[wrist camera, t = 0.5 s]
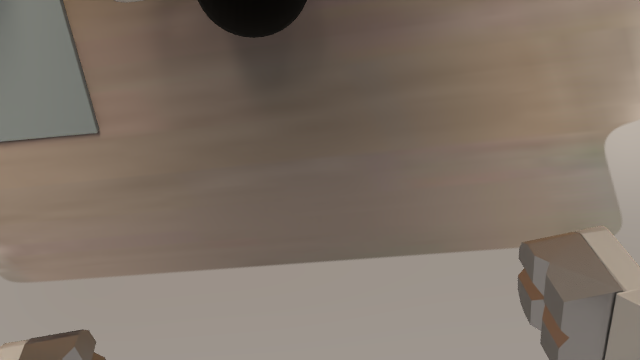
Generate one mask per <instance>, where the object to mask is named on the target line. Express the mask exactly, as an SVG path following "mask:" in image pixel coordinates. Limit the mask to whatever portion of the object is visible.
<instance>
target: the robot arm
mask: <svg viewBox="0 0 640 360" xmlns="http://www.w3.org/2000/svg"><path fill="white" fill-rule="evenodd" d="M519 260H520V261H521V263H522V265H523V267H524V269H523V270H522V272H521V273H520V274H519V275H518V292H519V297H520V302H521V305H522V308H523V311H524V313H525V315H526V317H527V319H528V321H529V323H530V325H532V326H534V327H536V328H537V329H539V330H541V345H542V347H543V349H544V351H545V353H546V355H547V356H548V358H549V360H640V266H639V265H638V264H637V263H636V262H635V260H633V258H632V257H631V256H630V254H628V252H627V251H626V250H625V249H624V247H623V246H622V245H621V244H620V243H619V241H617V239H616V238H615V237H614V235H613V234H612V233H611V232H610V231H609V229H608V228H606V227H604V226H597V227H593V228H588V229H583V230H578V231H575V232H569V233H565V234H560V235H555V236H550V237H545V238H540V239H536V240H531V241H526V242H522V243H521V245H520V248H519ZM95 344H96V341H95V339H94V338H93V336H92V335H91V333H90V332H89V331H88V330H77V331H72V332H66V333H60V334H54V335H48V336H43V337H37V338H31V339H29V340H23V341H17V342H11V343H5V344H3V345H2V346H1V347H0V360H106V359H105V357H103V356H100V355H98V354H96V353H95V352H94V349H95Z"/></svg>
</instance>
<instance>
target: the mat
mask: <svg viewBox="0 0 640 360" xmlns="http://www.w3.org/2000/svg"><path fill="white" fill-rule="evenodd" d="M98 130H99V127H98V123H97V120H96V116H95V113H94V109H93V106H92V102H91V99H90V95H89V92H88V88H87V85H86V81H85V77H84V74H83V70H82V67H81V63H80V60H79V56H78V53H77V49H76V46H75V42H74V39H73V35H72V32H71V28H70V25H69V21H68V18H67V14H66V10H65V7H64V3H63V0H0V142H1V141H12V140H24V139H35V138H46V137H57V136H68V135H79V134H90V133H98Z"/></svg>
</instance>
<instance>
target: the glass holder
mask: <svg viewBox="0 0 640 360" xmlns="http://www.w3.org/2000/svg"><path fill="white" fill-rule="evenodd" d="M115 1H116V2H136V1H143V0H115ZM306 1H307V0H198V2H199V3H200V5H201V7H202V9H203V11H204V12H205V13H206V14H207V16H208V17H209V18H210V19H211V20H212V21H213V22H214V23H215V24H217V25H218V26H219V27H221V28H222V29H224V30H226V31H228V32H230V33H233V34H235V35H239V36H243V37H253V38H255V37H264V36H268V35H272V34H274V33H277V32H279V31H281V30H283V29H284V28H286V27H287V26H288V25H290V24H291V23H292V22H293V21H294V20H295V19H296V18H297V17H298V15H299V14H300V12H301V11H302V9H303V7H304V5H305V3H306Z"/></svg>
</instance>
